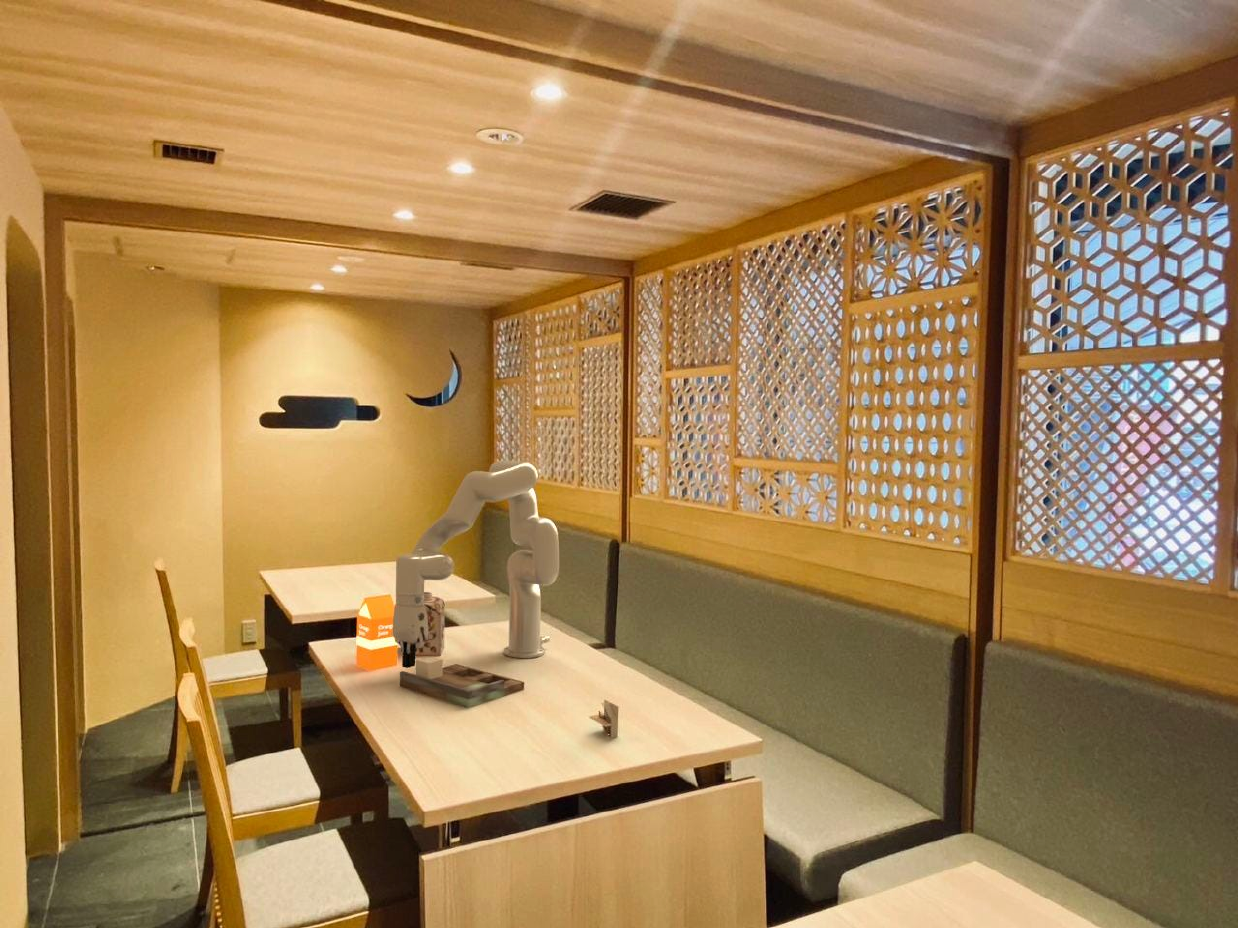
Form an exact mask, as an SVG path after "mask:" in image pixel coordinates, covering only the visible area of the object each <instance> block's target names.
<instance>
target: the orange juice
mask: <svg viewBox="0 0 1238 928" xmlns="http://www.w3.org/2000/svg"><path fill="white" fill-rule="evenodd" d="M394 608H395V603H394V600H393V597H392V594H383V595H377V596H376V595H375V596H369V597H364V598H363V600H362V603H361V605H360V608H359V610H358V612H357V614H356V643H355V644H356V655H355V656H356V659H355V661H356V665H357V666H356V667H360V668H362V669H364V670H367V671H370V672H372V671H377V670H382V669H385V668H392V667H395V666H398V645H399V644H398V643H396V642H395V638H394V637H393V632H392V627H393V614H394Z"/></svg>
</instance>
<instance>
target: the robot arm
mask: <svg viewBox="0 0 1238 928" xmlns="http://www.w3.org/2000/svg"><path fill="white" fill-rule="evenodd" d="M538 478H539V477H538V471H537V469H536V467H535V466H534V465H533V464H531V463H529V462H526V461H516V460H515V461H512V460H497V461H495V462H493V463H492V464H491V465H490V467H489V471H481V470H479V471H478V470H474V471H471V472H469V473H467V474H466V475H465V476H464V477H463V480H462V481H461V483H460V485H459V487H458V489H457V490H456V493H455V495H454V497H453V498H452V499H451V502H450V503H449V505H448V507H447V508H446V511H445V512H444V514H443V515H442V516H440V517H439V518H438V519H437V520H435V522H434V523H433V524H431V525H430V526H429V527H428V528H427V529H426V530H425V531H424V532H423V533H422V534H421V536H420V538H419V539H418V540H417V543H416V545H415V546H414V548H413V550H412V552H411V553H407V554H406V553H405V554H401V555H399V556H398V557H396V561H395V562H396V563H395V564H396V565H395V603H394V606H395V608H394V614H393V627H392V632H393V637H394V638H395V642H396V643H398V645H399V647H400V653H401V654H402V664H401V666H402V668H406V669H408V668H412V667H416V656H415V652H417V649H418V648H423V647H424V643H423V641H427V640H428V619H427V611H426V607H425V606H424V592H425V581H443V580H446V579H448V578H449V577H450V576H451V575H452V574H453V573H454V570H455V563H454V560H453V558H452V557H451V556H449V555H448V554H446V553H444V552H443V553H442V552H440V550H441V549H442V547H443V546H444V545H445V544H446V543H448V541H449V540H451V539H452V538H454V537H456V536H458V535H461V534H463V533H465V532H467V531H469V530H470V529H471V528H472V527H473V525H474V523H475V522H476V520H477V518H478V516H479V514H480V512H481V511H482V508H483V507H484V505H485V503H486V502H487V503H498V502H499V503H500V502H502V501H506V500H507V503H508V509H509V511H508V512H509V529H510V530H509V531H510V532H509V533H510V538H511V541H512V543H514V544H515V545H517V546H521V547H525V548H529V549H531V550H529V549H519V550H516V551H514V552H512V553H511V555H510V556H509V557H508V560H507V564H506V570H507V578H508V585H509V606H508V607H509V611H508V614H509V615H508V646H505V647H504V648H503V649H502V651H503V654H504V655H505V656H507V657H511V658H517V659H526V658H527V659H531V658H538V657H540V656H541V657H542V656H543V655H545V653H546V649H545V648H544V647H543V644H546V643H550V636H548V635H546V636H541V612H542V611H541V609H542V605H541V604H542V595H541V588H540V586H543V587H546V586H551V585H552V584H553V583H555V582H556V580H557V579H558V576H559V572H560V544H559V533H558V529H557V527H556V525H555V523H554V522H553V521H552V520H551V519H549V518H546V517H541V516H539V512H538V501H537V495H536V492H535V490H534V487H535V486H536V485H537V483H538ZM402 652H403V653H402Z"/></svg>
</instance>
